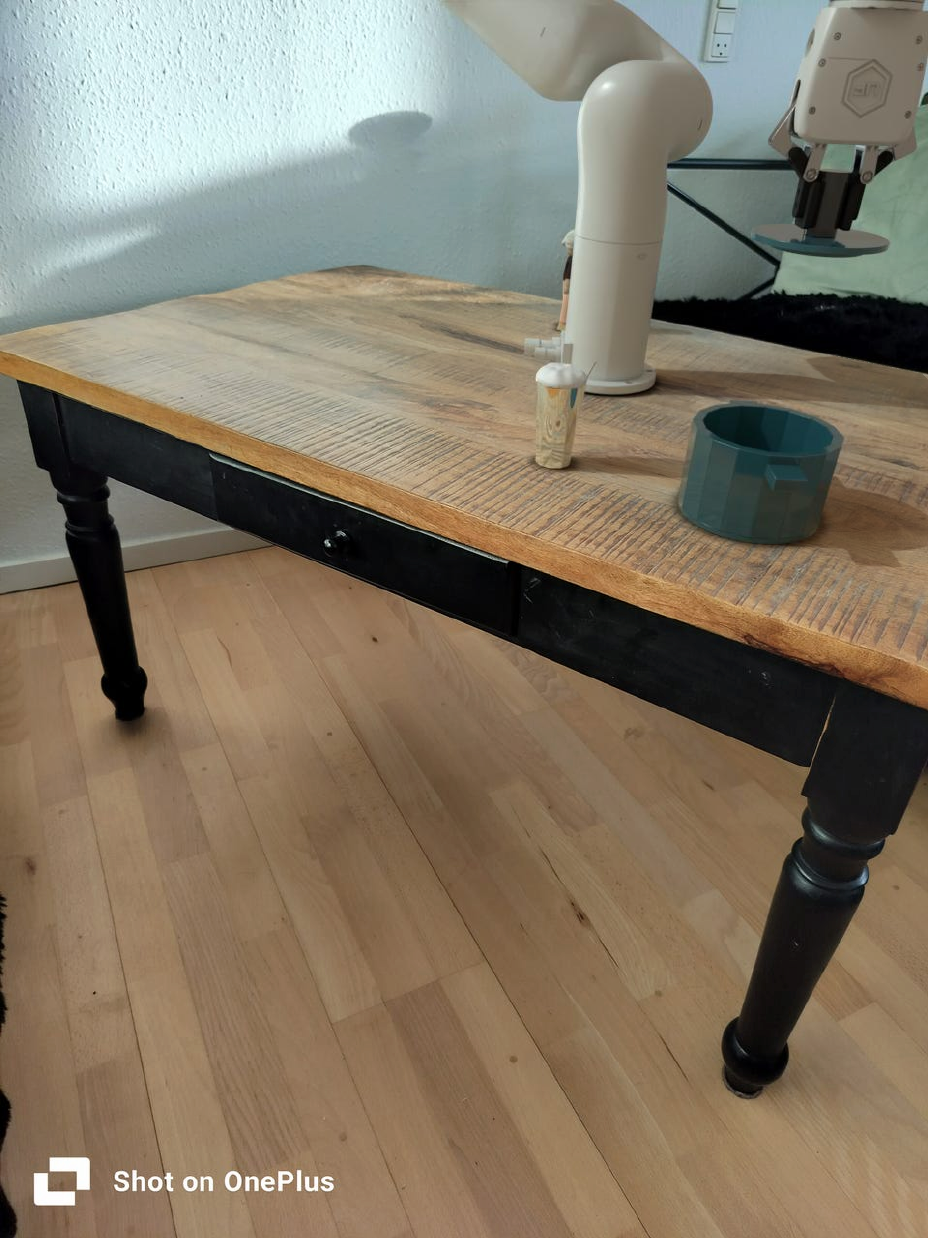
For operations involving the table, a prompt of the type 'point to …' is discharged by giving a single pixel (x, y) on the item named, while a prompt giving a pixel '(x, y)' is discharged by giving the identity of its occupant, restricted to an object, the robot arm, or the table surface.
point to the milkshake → (558, 412)
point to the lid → (823, 226)
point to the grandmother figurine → (566, 278)
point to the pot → (758, 472)
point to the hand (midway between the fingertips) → (821, 225)
